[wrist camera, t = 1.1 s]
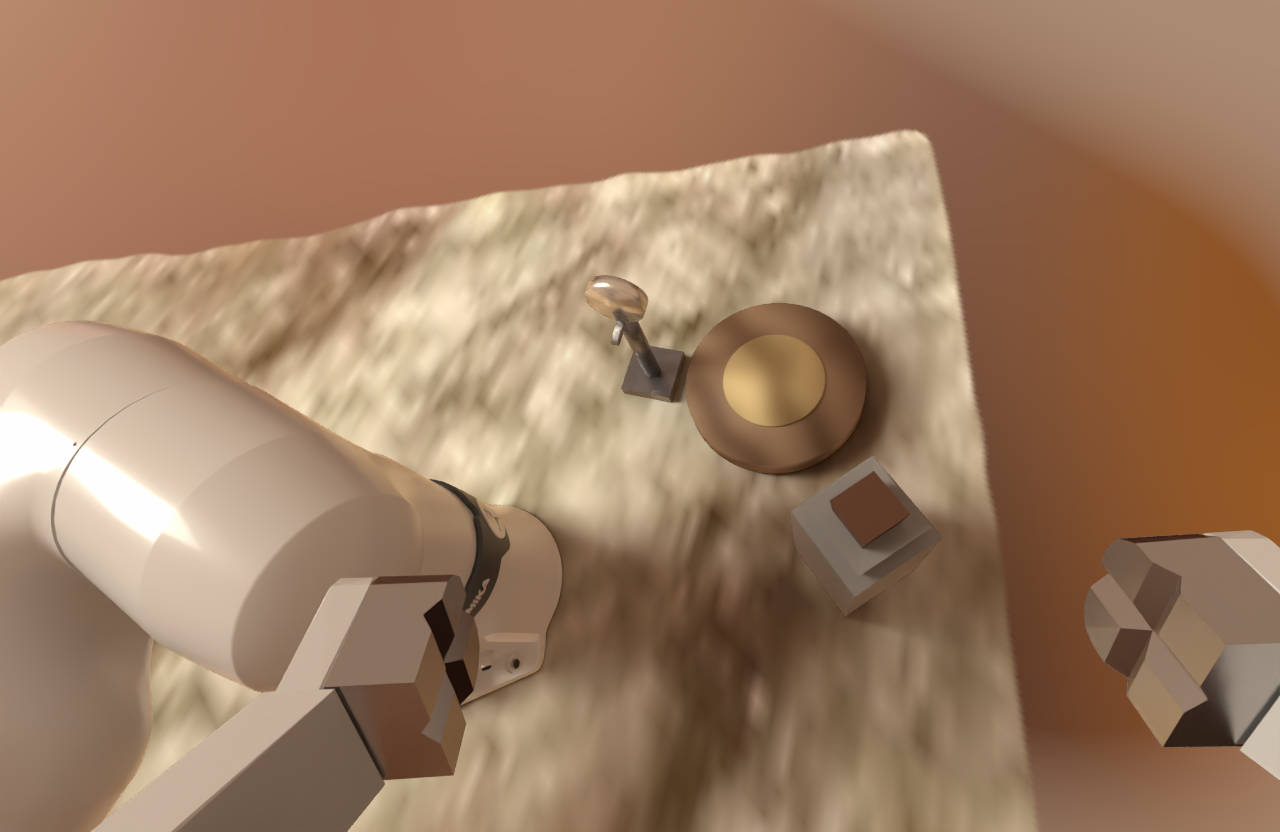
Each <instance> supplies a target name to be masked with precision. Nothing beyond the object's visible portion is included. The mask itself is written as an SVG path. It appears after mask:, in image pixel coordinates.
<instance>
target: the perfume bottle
mask: <svg viewBox="0 0 1280 832" xmlns="http://www.w3.org/2000/svg"><path fill="white" fill-rule="evenodd" d="M790 512H791V520H792V528H793V536H794V544H795V549H796V550H797V551H798V553H799V554H800V555H801V557H802V558H803V560H804V561H805V562H806V564H807V565H808V566H809V568H810V569H811V571H812V572H813V573H814V575H815V576H816V577H817V579H818V580H819V582H820V583H821V584H822V586H823V587H824V588H825V590H826V591H827V593H828V594H829V595H830V597H831V598H832V599H833V601H834V602H835V604H836V605H837V606H838V608H839V609H840V610H841V612H842V613H843V615H844V616H847V615H848V614H850V613H851V612H853V611H854V610H856V609H857V608H859V607H860V606H862V605H863V604H865V603H866V602H867V601H869V600H870V599H872V598H873V597H875V596H876V595H878V594H879V593H881V592H882V591H884V590H885V589H887V588H888V587H890V586H891V585H893V584H894V583H896V582H897V581H899V580H900V579H902V578H903V577H905V576H906V575H907V574H909V573H910V572H912V571H913V570H914V569H915V568H916V567H917V566H918V565H919V564H920V562H921V561H922V560H923V559H924V558H925V557H926V556H927V555H928V553H929V552H930V551H931V550H932V549H933V548H934V547H935V545H936V544H937V543H938V542H939V541H940V540H941V539H942V538H943V537H942V536H941V535H940V534H939V533H938V532H937V530H936V529H935V528H934V527H933V526H932V525H931V523H930V522H929V521H928V520H927V519H926V517H925V516H924V515H923V514H922V513H921V512H920V510H919V509H918V508H917V507H916V506H915V505H914V503H913V502H912V501H911V500H910V499H909V497H908V496H907V495H906V494H905V493H904V492H903V490H902V489H901V488H900V487H899V486H898V485H897V483H896V482H895V481H894V480H893V479H892V477H891V476H890V475H889V474H888V473H887V472H886V470H885V469H884V468H883V467H882V466H881V465H880V463H879V462H878V461H877V460H876V459H875V457H874V456H871V457H870V458H868V459H867V460H865V461H864V462H862V463H861V464H859V465H858V466H856V467H855V468H853V469H852V470H850V471H849V472H847V473H846V474H844V475H843V476H841V477H840V478H838V479H837V480H835V481H834V482H832V483H831V484H830V485H828V486H827V487H825V488H824V489H822V490H821V491H819V492H818V493H816V494H815V495H813V496H812V497H810V498H809V499H807V500H806V501H804V502H803V503H801V504H800V505H798V506H797V507H795V508H794V509H792V510H791V511H790Z"/></svg>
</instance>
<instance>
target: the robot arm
mask: <svg viewBox="0 0 1280 832" xmlns="http://www.w3.org/2000/svg"><path fill="white" fill-rule="evenodd" d="M1101 562H1102V564H1103V565H1104V567H1105V569H1106V570H1107V572H1108V574H1107V575H1106V576H1104V577H1103V578H1101V579H1100V580H1099V581H1097V582H1096V583H1095V584H1093V585H1092V586H1091V587H1090V589H1089V592H1088V595H1087V598H1086V601H1085V603H1084V615H1085V625H1086V629H1087V632H1088V634H1089V637H1090V639H1091V642H1092V644H1093V646H1094V647H1095V649H1096V650H1097V652H1098V653H1099V655H1100V656H1101V658H1102V660H1103V661H1104V662H1105V663H1106V664H1108V665H1109V666H1111V667H1112V668H1114V669H1115V670H1117V671H1119V672H1120V673H1122V674H1123V675H1125V676H1126V677H1128V686H1127V696H1128V698H1129V699H1130V701H1131V702H1132V704H1133V705H1134V707H1135V708H1136V709H1137V711H1138V712H1139V714H1140V715H1141V717H1142V718H1143V720H1144V721H1145V723H1146V724H1147V725H1148V727H1149V728H1150V730H1151V731H1152V733H1153V734H1154V736H1155V737H1156V738H1157V740H1158V741H1159V743H1160V744H1161V746H1162V747H1219V746H1242V748H1241V749H1240V751H1242V752H1243V753H1244V754H1246V755H1247V756H1248V757H1250V758H1251V759H1252V760H1254V761H1255V762H1256V763H1258V764H1259V765H1260V766H1262V767H1263V768H1264V769H1266V770H1267V771H1268V772H1270V773H1271V774H1272V775H1274V776H1275V777H1276V778H1278V779H1279V780H1280V548H1279V547H1278V546H1277V545H1275V544H1274V543H1273V542H1272V541H1271V540H1270V539H1268V538H1267V537H1265V536H1263V535H1260V534H1258V533H1256V532H1254V531H1251V530H1250V531H1234V532H1217V533H1205V534H1183V535H1168V536H1153V537H1136V538H1120V539H1117V540H1116V541H1115V542H1113V543H1112V544H1111V545H1109V546H1108V547H1107V549H1106V552H1105V554H1104V556H1103V558H1102V560H1101ZM561 586H562V563H561V558H560V554H559V550H558V547H557V545H556V542H555V540H554V538H553V536H552V535H551V533H550V532H549V530H548V529H547V528H546V527H545V525H544V524H543V523H542V522H541V521H540V520H538V519H537V518H536V517H534V516H533V515H532V514H530V513H528V512H526V511H524V510H521V509H519V508H515V507H510V506H497V505H487V504H485V503H484V502H482V501H480V500H478V499H477V498H475V497H473V496H471V495H470V494H468V493H466V492H464V491H462V490H460V489H458V488H456V487H454V486H452V485H450V484H447V483H445V482H442V481H438V480H432V479H427V478H425V477H423V476H422V475H420V474H418V473H416V472H414V471H412V470H410V469H409V468H407V467H405V466H403V465H401V464H399V463H397V462H396V461H394V460H392V459H390V458H388V457H386V456H384V455H381V454H375V453H371V452H369V451H367V450H365V449H363V448H361V447H359V446H357V445H355V444H353V443H352V442H350V441H348V440H346V439H344V438H343V437H341V436H339V435H337V434H336V433H334V432H332V431H330V430H329V429H327V428H325V427H324V426H322V425H320V424H319V423H317V422H315V421H313V420H312V419H310V418H308V417H307V416H305V415H303V414H302V413H300V412H298V411H297V410H295V409H293V408H292V407H290V406H288V405H287V404H285V403H283V402H281V401H280V400H278V399H277V398H275V397H273V396H272V395H270V394H268V393H267V392H265V391H263V390H261V389H259V388H257V387H255V386H252V385H249V384H248V383H246V382H244V381H243V380H241V379H240V378H238V377H236V376H235V375H233V374H231V373H230V372H228V371H226V370H225V369H223V368H221V367H220V366H218V365H216V364H215V363H213V362H211V361H210V360H208V359H207V358H205V357H203V356H202V355H200V354H198V353H197V352H195V351H193V350H192V349H190V348H188V347H187V346H184V345H182V344H180V343H178V342H176V341H173V340H170V339H167V338H164V337H160V336H157V335H153V334H150V333H147V332H143V331H140V330H136V329H132V328H127V327H123V326H118V325H114V324H109V323H105V322H98V321H65V322H58V323H53V324H49V325H45V326H41V327H38V328H35V329H32V330H30V331H27V332H25V333H23V334H20V335H18V336H16V337H14V338H13V339H11V340H9V341H8V342H6V343H4V344H3V345H2V346H0V832H347V831H348V830H349V829H350V827H351V826H352V825H353V824H354V822H355V821H356V820H357V819H358V817H359V816H360V815H361V814H362V812H363V811H364V810H365V809H366V807H367V806H368V805H369V804H370V802H371V801H372V800H373V799H374V797H375V796H376V795H377V794H378V793H379V791H380V790H381V789H382V788H383V786H384V785H385V783H384V781H383V780H393V779H408V778H422V777H437V776H451V775H454V772H455V768H456V763H457V759H458V755H459V751H460V747H461V743H462V739H463V735H464V730H465V726H466V722H465V719H464V716H463V713H462V710H461V708H460V705H463V704H465V703H467V702H469V701H472V700H474V699H476V698H478V697H481V696H483V695H485V694H487V693H490V692H492V691H494V690H496V689H499V688H501V687H503V686H505V685H508V684H510V683H512V682H515V681H517V680H519V679H521V678H524V677H526V676H528V675H530V674H533V673H534V672H536V671H537V670H538V669H539V668H540V667H541V665H542V663H543V660H544V654H545V642H546V631H547V628H548V625H549V623H550V620H551V618H552V616H553V614H554V611H555V609H556V606H557V604H558V600H559V597H560V592H561ZM153 640H155V641H156V642H158V643H159V644H161V645H162V646H164V647H165V648H167V649H169V650H171V651H173V652H175V653H177V654H178V655H180V656H182V657H184V658H186V659H188V660H190V661H192V662H194V663H196V664H197V665H199V666H201V667H203V668H205V669H207V670H209V671H212V672H214V673H216V674H218V675H221V676H223V677H225V678H227V679H229V680H232V681H234V682H236V683H238V684H241V685H243V686H245V687H247V688H249V689H252V690H254V691H257V692H261V693H262V694H260V695H259V696H258V697H257V698H255V699H254V700H253V701H252V702H251V703H249V704H248V705H247V706H246V707H244V708H243V709H242V710H241V711H239V712H238V713H237V714H236V715H234V716H233V717H232V718H231V719H229V720H228V721H227V722H226V723H224V724H223V725H222V726H221V727H220V728H218V729H217V730H216V731H215V732H213V733H212V734H211V735H210V736H208V737H207V738H206V739H205V740H203V741H202V742H201V743H200V744H198V745H197V746H196V747H195V748H194V749H192V750H191V751H190V752H189V753H187V754H186V755H185V756H184V757H182V758H181V759H180V760H179V761H177V762H176V763H175V764H174V765H172V766H171V767H170V768H169V769H168V770H166V771H165V772H164V773H163V774H161V775H160V776H159V777H158V778H156V779H155V780H154V781H153V782H151V783H150V784H149V785H148V786H146V787H145V788H144V789H143V790H141V791H140V792H139V793H138V794H137V795H135V796H134V797H133V798H132V799H130V800H129V801H128V802H127V803H125V804H124V805H123V806H122V807H120V808H119V809H118V810H117V811H115V812H114V813H113V814H112V815H111V816H109V817H108V818H107V819H106V820H104V819H105V818H106V816H107V815H108V813H109V812H110V810H111V809H112V807H113V806H114V804H115V803H116V802H117V800H118V799H119V797H120V796H121V794H122V793H123V791H124V790H125V789H126V787H127V786H128V784H129V783H130V781H131V780H132V779H133V777H134V776H135V774H136V772H137V770H138V769H139V767H140V765H141V762H142V760H143V758H144V756H145V753H146V750H147V747H148V744H149V740H150V736H151V730H152V719H153V705H152V696H151V688H150V660H151V651H152V646H153ZM516 659H518V660H519V661H520V665H519V667H518V668H515V667H514V661H515V660H516ZM103 820H104V821H103Z"/></svg>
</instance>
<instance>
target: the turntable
mask: <svg viewBox="0 0 1280 832" xmlns="http://www.w3.org/2000/svg"><path fill="white" fill-rule="evenodd" d="M866 386H867V376H866V368H865V364H864V361H863V357H862V355H861V353H860V350H859V348H858V346H857V345H856V343H855V341H854V340H853V338H852V337H851V336H850V335H849V334H848V332H847V331H846V330H845V329H844V328H843V327H842V326H841V325H839V324H838V323H837V322H836V321H834V320H833V319H831V318H830V317H828V316H827V315H825V314H823V313H821V312H819V311H816V310H814V309H811V308H808V307H804V306H800V305H795V304H787V303H772V304H763V305H758V306H754V307H750V308H747V309H744V310H741V311H739V312H737V313H735V314H733V315H731V316H729V317H728V318H726V319H724V320H723V321H721V322H720V323H719V324H717V325H716V326H715V327H714V328H713V329H712V330H711V331H710V332H709V333H708V334H707V335H706V336H705V337H704V338H703V340H702V341H701V342H700V343H699V345H698V347H697V349H696V350H695V352H694V354H693V356H692V359H691V361H690V364H689V367H688V371H687V377H686V397H687V403H688V406H689V410H690V413H691V415H692V417H693V420H694V422H695V424H696V426H697V428H698V431H699V432H700V434H701V435H702V437H703V438H704V440H705V441H706V442H707V444H708V445H709V446H710V447H711V448H712V449H713V450H714V451H715V452H716V453H718V454H719V455H720V456H721V457H723V458H724V459H726V460H727V461H729V462H731V463H733V464H735V465H737V466H739V467H742V468H745V469H748V470H752V471H756V472H761V473H788V472H794V471H799V470H802V469H805V468H808V467H811V466H813V465H815V464H818V463H820V462H821V461H823V460H825V459H826V458H828V457H830V456H831V455H832V454H833V453H835V452H836V451H837V450H838V449H839V448H840V447H841V446H842V445H843V444H844V443H845V442H846V441H847V440H848V438H849V437H850V436H851V434H852V433H853V431H854V430H855V428H856V426H857V424H858V422H859V419H860V416H861V414H862V410H863V405H864V400H865V394H866Z"/></svg>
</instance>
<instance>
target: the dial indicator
mask: <svg viewBox="0 0 1280 832" xmlns="http://www.w3.org/2000/svg"><path fill="white" fill-rule="evenodd" d="M585 300H586V302H587V304H588V305H589V306H590V307H591V308H593V309H594V310H595V311H597V312H598V313H600V314H602V315H604V316H606V317H609V318H611V319H615V320H616V321H617V323H616V326H615V329H614V332H613V335H612V338H611V340H610V341H611V343H612V344H613V345H618V346H619V344H620V341H621V338H622V335H623V334H624V335H625V337H626V339H627V341H628V343H629V345H630V347H631V349H632V350H633V355H632V358H631V361H630V364H629V367H628V370H627V373H626V376H625V379H624V382H623V385H622V388H621V389H622V390H623V392H624V393H626V394H631V395H636V396H641V397H646V398H651V399H656V400H661V401H666V402H672V399H673V396H674V393H675V389H676V386H677V383H678V380H679V376H680V373H681V370H682V367H683V363H684V360H685V355H684V352H681V351H676V350H670V349H664V348H658V347H652V346H650V345H649V343H648V341H647V339H646V337H645V335H644V333H643V331H642V329H641V327H640V325H639V322H638V321H639V320H641V319H642V318H643V316H644V314H645V311H646V308H647V305H648V297H647V295H646V294H645V293H644V292H643V290H641V289H640V288H639V287H638V286H636V285H634V284H633V283H631V282H629V281H627V280H624V279H621V278H618V277H614V276H607V275H601V276H596V277H593V278H592V279H591V280H590V282H589V285H588V287H587V290H586V293H585Z"/></svg>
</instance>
